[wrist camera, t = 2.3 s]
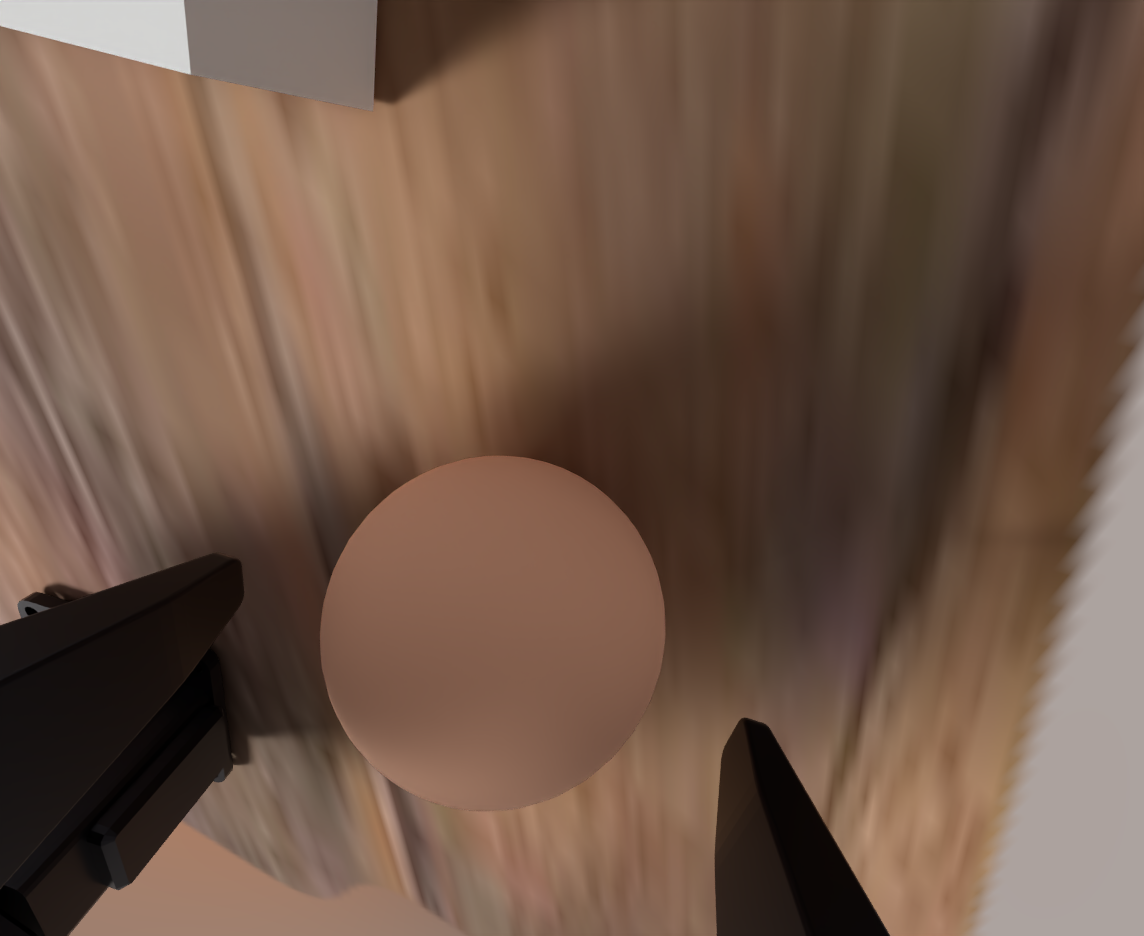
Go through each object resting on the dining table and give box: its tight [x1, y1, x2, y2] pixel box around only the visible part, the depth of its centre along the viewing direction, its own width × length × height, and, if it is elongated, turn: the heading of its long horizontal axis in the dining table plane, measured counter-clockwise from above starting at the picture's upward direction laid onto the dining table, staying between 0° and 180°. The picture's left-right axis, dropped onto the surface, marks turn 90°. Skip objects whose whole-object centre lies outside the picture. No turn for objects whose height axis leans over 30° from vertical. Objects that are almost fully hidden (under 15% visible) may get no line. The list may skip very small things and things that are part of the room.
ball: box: [320, 456, 666, 811], centre depth 10 cm, size 6×6×6 cm
